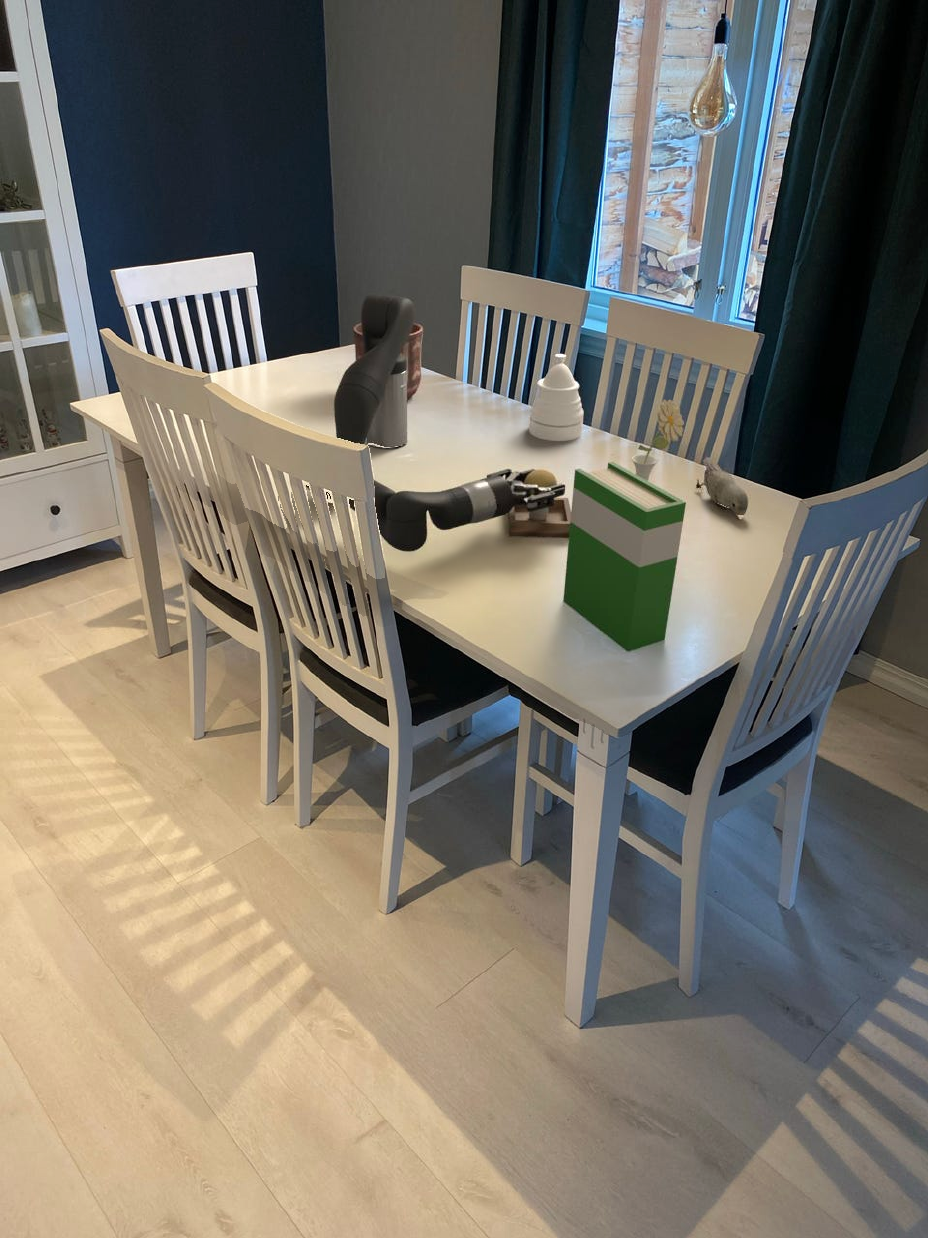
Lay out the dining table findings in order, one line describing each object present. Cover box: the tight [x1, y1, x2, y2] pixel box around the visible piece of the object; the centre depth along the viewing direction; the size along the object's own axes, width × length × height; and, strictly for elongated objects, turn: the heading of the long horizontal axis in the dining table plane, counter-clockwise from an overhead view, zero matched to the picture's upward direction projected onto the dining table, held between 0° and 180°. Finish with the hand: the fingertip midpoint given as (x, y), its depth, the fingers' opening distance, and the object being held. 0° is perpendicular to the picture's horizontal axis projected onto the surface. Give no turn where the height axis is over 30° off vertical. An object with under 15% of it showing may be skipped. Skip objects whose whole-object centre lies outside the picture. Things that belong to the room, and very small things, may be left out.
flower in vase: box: [631, 399, 685, 482], centre depth 185 cm, size 13×11×25 cm
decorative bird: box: [695, 456, 749, 516], centre depth 198 cm, size 5×16×8 cm, turn 18°
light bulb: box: [524, 469, 558, 521], centre depth 187 cm, size 6×6×10 cm
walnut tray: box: [507, 497, 572, 539], centre depth 189 cm, size 12×12×3 cm
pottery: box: [352, 322, 424, 401], centre depth 249 cm, size 18×18×18 cm
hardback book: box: [562, 461, 687, 653], centre depth 153 cm, size 18×7×24 cm, turn 30°
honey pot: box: [528, 353, 585, 442], centre depth 230 cm, size 13×13×18 cm
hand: (549, 481), depth 187 cm, fingers open, 8 cm apart
